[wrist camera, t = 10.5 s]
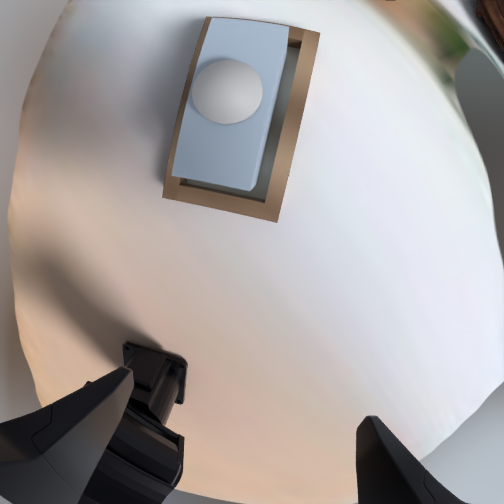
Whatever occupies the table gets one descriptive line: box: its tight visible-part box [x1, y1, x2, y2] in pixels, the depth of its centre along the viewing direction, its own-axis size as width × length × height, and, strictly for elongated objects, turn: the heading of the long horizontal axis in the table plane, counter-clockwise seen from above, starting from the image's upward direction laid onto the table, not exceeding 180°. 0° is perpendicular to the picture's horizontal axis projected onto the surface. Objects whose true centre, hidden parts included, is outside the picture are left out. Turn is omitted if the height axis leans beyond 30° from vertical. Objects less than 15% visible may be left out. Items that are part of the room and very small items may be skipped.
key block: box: [171, 18, 289, 191], centre depth 13 cm, size 4×9×6 cm, turn 168°
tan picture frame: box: [162, 17, 320, 223], centre depth 16 cm, size 13×8×2 cm, turn 168°
